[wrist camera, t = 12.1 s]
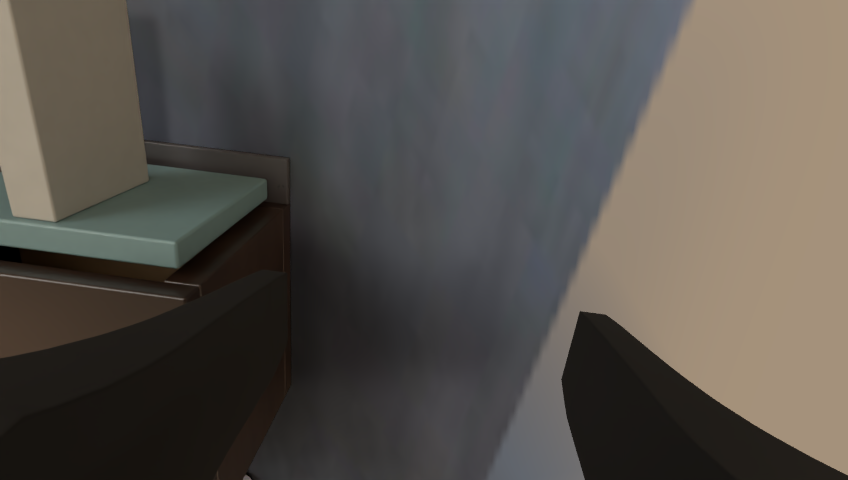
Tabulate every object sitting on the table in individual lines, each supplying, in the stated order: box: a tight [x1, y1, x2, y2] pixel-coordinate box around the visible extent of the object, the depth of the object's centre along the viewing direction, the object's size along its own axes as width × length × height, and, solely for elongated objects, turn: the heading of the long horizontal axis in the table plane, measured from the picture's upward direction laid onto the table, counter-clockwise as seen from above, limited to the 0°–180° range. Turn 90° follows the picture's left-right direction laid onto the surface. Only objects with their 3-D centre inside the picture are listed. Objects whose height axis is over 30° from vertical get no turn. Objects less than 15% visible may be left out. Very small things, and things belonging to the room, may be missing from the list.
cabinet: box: [0, 140, 291, 480], centre depth 17 cm, size 11×16×8 cm
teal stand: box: [0, 0, 267, 269], centre depth 14 cm, size 7×8×6 cm
